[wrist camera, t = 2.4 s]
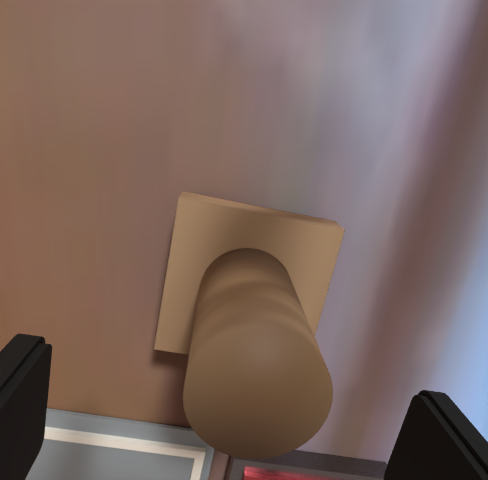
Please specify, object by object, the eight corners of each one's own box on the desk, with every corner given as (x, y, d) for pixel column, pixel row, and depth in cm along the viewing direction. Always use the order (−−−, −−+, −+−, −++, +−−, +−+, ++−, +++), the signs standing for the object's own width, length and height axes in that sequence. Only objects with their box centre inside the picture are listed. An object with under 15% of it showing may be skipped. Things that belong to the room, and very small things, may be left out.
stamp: (330, 217, 19) (423, 302, 10) (295, 345, 21) (347, 513, 12) (184, 188, 18) (144, 252, 9) (162, 323, 20) (110, 484, 11)
